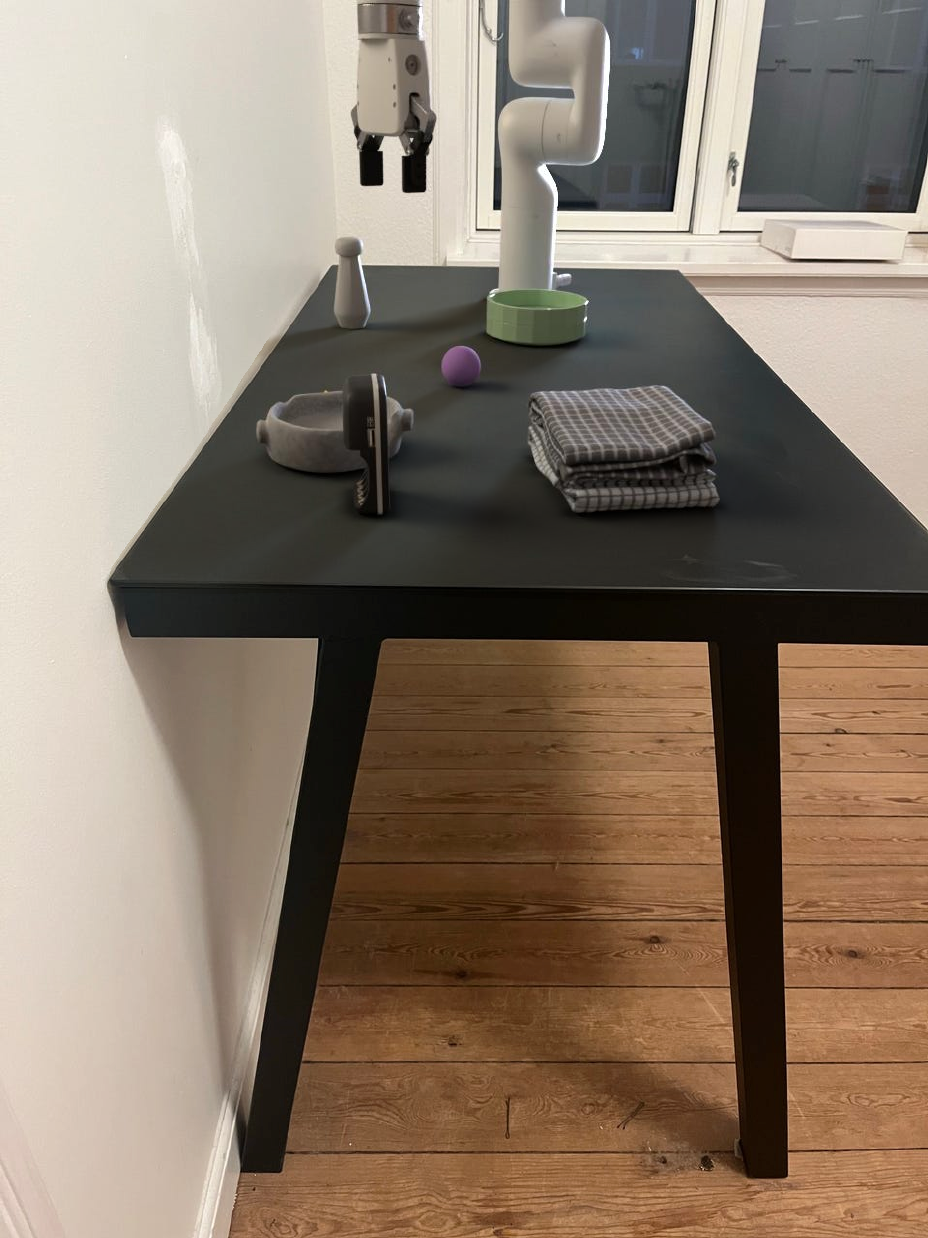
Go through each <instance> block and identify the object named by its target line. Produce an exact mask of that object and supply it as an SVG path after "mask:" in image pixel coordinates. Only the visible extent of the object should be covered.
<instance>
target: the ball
mask: <svg viewBox="0 0 928 1238" xmlns="http://www.w3.org/2000/svg"><path fill="white" fill-rule="evenodd" d="M440 366H441V372H442V376H443V378H444V379H445V380H446V382H448V383H449V384H451V385H452V386H454V387H459V388H463V387H464V388H465V387H468V386H470V385H472V384H473V383H475V382H476V381H477V380H478V378H479V376H480V373H481V369H482V365H481V360H480V357H479V355H478V354H477V352H476V351H475V350H473V349H472V348H470V347H469V346H465V345H457V346H454V347H451V348H450V349H448V350H447V352H446V353H445V354H444V355H443V357H442V360H441V365H440Z"/></svg>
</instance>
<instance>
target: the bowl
mask: <svg viewBox="0 0 928 1238" xmlns="http://www.w3.org/2000/svg"><path fill="white" fill-rule="evenodd" d="M588 306H589V300H588V299H587V297H585V296H583V295H581V294H577V293H574V292H570V291H563V290H557V289H556V290H546V289H513V290H505V291H498V292H495V293H491V294H490V293H489V294H488V295H487V296H486V311H485V315H486V316H485V331H486V334H488V335H489V336H490V337H492V338H496V339H499V340H501V341H504V342H506V343H509V344H511V343H512V344H516V345H523V346H556V345H563V344H567V343H570V342H574V341H577V340H579V339H582V338H584V336H585V335H586V330H587V319H588V318H587V317H588Z"/></svg>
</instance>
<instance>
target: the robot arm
mask: <svg viewBox="0 0 928 1238" xmlns="http://www.w3.org/2000/svg"><path fill="white" fill-rule="evenodd" d="M423 2H424V1H423V0H356V15H357V17H356V18H357V21H356V22H357V40H358V41H359V42H358V51H357V52H358V53H357V67H356V68H357V70H356V104H355V105H354V106H353V108H352V109H351V110H350V118H351V121H352V125H353V135H354V137H355V139H356V149H357V151H358V155H359V156H358V159H359V162H358V163H359V184H360V186H362V187H381V186H383V185H384V151H383V150H380V149H381V146H382V143H383V141H384V138H385V137H391V138H399V141H400V144H401V146H402V148H403V149H402V150H403V151H404V155H401V191H402V193H405V194H419V193H426V192H427V157H428V156H429V155H430V146H431V144H432V142H433V140H434V134H433V133H434V131H435V127H436V124H437V114H436V113H435V112H434V111H433V110H432V98H431V79H430V67H429V59H428V53H427V52H428V51H427V46H426V42H425V40H423V39H424V38H423V35H424V34H423V33H424V31H423V30H424V29H423V28H424V27H423V24H424V23H423V18H424V17H423V11H424V10H423V8H424V7H423V5H424V3H423ZM508 7H509V9H508V10H509V11H508V17H509V18H508V67H509V73H510V76H511V79H512V80H513V82H514V83H516V84H517V85H519V86H522V87H527V88H535V89H537V88H539V89H571V90H572V91H573V95H574V98H563V97H562V98H561V97H560V98H559V97H540V96H528V97H520V98H516V99H513V100H511V101H509V102H508V103H507V104H506V105H504V107H503V108H502V110H501V111H500V114H499V117H498V123H497V134H498V135H497V136H498V137H497V138H498V145H499V146H498V147H499V153H500V162H501V163H500V164H501V202H500V203H501V204H500V228H499V229H500V230H499V231H500V232H499V233H500V235H499V257H498V258H499V261H498V288H494V289H492V290H491V291H489V295H490V294H491V293H495V292H498V291H505V290H513V289H546V290H557V288H559V286H563V287H564V286H569V285H570V284H571V283H572V279H573V278H572V275H571V274H570V273H561V274H559V275H558V272H555V271H554V257H555V241H556V225H557V210H558V208H557V207H558V190H557V187H556V183H555V181H554V179H553V177H552V175H551V174H550V172H549V170H548V168H547V166H546V165H562V166H588V165H591V164H593V163H595V162H596V161H597V160H598V159H599V158H600V155H601V153H602V150H603V146H604V142H605V133H606V119H607V106H608V105H607V104H608V92H609V91H608V90H609V75H610V58H611V56H610V55H611V52H610V51H611V50H610V48H611V47H610V38H609V34H608V31H607V28H606V26H605V25H604V23H603V22H602V21H601V20H599V19H598V18H595V17H591V16H566V13H565V0H509V5H508ZM411 139H412V140H411Z"/></svg>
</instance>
